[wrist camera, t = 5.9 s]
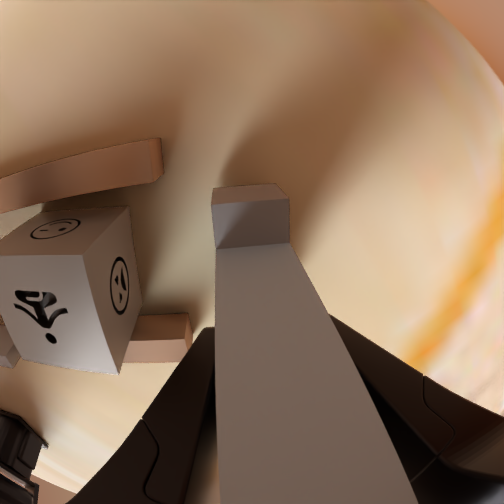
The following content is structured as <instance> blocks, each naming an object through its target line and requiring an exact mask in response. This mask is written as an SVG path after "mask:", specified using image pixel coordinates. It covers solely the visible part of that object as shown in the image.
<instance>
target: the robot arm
mask: <svg viewBox="0 0 504 504" xmlns="http://www.w3.org/2000/svg"><path fill="white" fill-rule="evenodd" d="M329 316H330V318H331V320H332V322H333V324H334V325H335V327H336V329H337V331H338V333H339V335H340V337H341V339H342V341H343V343H344V345H345V347H346V349H347V351H348V353H349V355H350V357H351V358H352V360H353V362H354V364H355V366H356V368H357V370H358V372H359V374H360V376H361V378H362V381H363V383H364V385H365V387H366V389H367V391H368V393H369V395H370V397H371V399H372V401H373V403H374V405H375V407H376V409H377V411H378V414H379V416H380V418H381V420H382V422H383V424H384V426H385V428H386V431H387V433H388V435H389V437H390V439H391V442H392V444H393V446H394V448H395V450H396V453H397V455H398V457H399V459H400V462H401V464H402V466H403V468H404V471H405V473H406V475H407V478H408V480H409V482H410V485H411V487H412V489H413V492H414V494H415V496H416V499H417V501H418V504H504V417H503V416H501V415H498V414H496V413H494V412H492V411H490V410H488V409H486V408H484V407H481V406H479V405H477V404H475V403H473V402H471V401H469V400H467V399H465V398H463V397H461V396H459V395H457V394H455V393H453V392H452V391H450V390H448V389H446V388H445V387H443V386H441V385H440V384H438V383H436V382H435V381H433V380H432V379H430V378H428V377H427V376H423V374H422V373H420V372H419V371H417V370H416V369H414V368H413V367H411V366H409V365H408V364H406V363H405V362H403V361H402V360H400V359H399V358H397V357H395V356H394V355H392V354H391V353H389V352H388V351H386V350H385V349H383V348H381V347H380V346H378V345H377V344H375V343H374V342H372V341H371V340H369V339H367V338H366V337H364V336H363V335H361V334H360V333H358V332H357V331H355V330H354V329H352V328H350V327H349V326H347V325H346V324H344V323H343V322H341V321H340V320H338V319H337V318H335V317H334V316H332V315H330V314H329ZM142 419H143V420H142ZM142 419H140V420H139V422H138V423H137V425H136V426H135V427H134V429H133V430H132V432H131V433H130V434H129V436H128V437H127V438H126V440H125V441H124V442H123V444H122V445H121V446H120V447H119V449H118V450H117V451H116V452H115V453H114V454H113V456H112V457H111V458H110V459H109V460H108V461H107V462H106V464H105V465H104V466H103V467H102V468H101V469H100V470H99V471H98V472H97V473H96V474H95V475H94V476H93V477H92V479H91V480H90V481H89V482H88V483H87V484H86V485H85V486H84V487H83V488H82V489H81V490H80V491H79V492H78V493H77V494H76V495H75V496H74V497H73V498H72V499H71V500H70V501H68V502H67V503H65V504H221V502H220V486H219V469H218V449H217V423H216V387H215V327H206V328H204V329H203V330H202V331H201V332H200V334H199V335H198V337H197V338H196V340H195V341H194V343H193V344H192V345H191V347H190V348H189V350H188V351H187V353H186V354H185V356H184V357H183V358H182V360H181V361H180V363H179V364H178V366H177V367H176V369H175V370H174V371H173V373H172V374H171V376H170V377H169V379H168V380H167V382H166V383H165V384H164V386H163V387H162V389H161V390H160V392H159V393H158V395H157V396H156V397H155V399H154V400H153V402H152V403H151V405H150V406H149V408H148V409H147V410H146V412H145V413H144V415H143V416H142ZM41 448H44V449H48V445H47V444H46V443H45V442H44V441H43V440H42V439H40V438H39V437H38V436H37V434H36V433H35V432H34V431H33V430H32V429H31V428H30V427H29V426H28V425H27V424H26V423H25V422H24V421H23V420H22V419H21V418H20V417H18V416H16V415H13V414H10V413H6V412H4V411H1V410H0V471H1V472H2V473H4V474H5V475H7V476H8V477H10V478H12V479H13V480H15V481H16V482H18V483H20V484H21V485H23V486H25V488H23V487H21V486H20V485H18V484H16V483H15V482H13V481H11V480H10V479H8V478H6V477H5V476H3V475H2V474H0V504H37V501H38V492H39V485H38V484H36V483H33V482H32V481H30V476H31V472H32V470H34V469H35V466H36V463H37V459H38V456H39V453H40V450H41Z"/></svg>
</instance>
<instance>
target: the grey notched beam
mask: <svg viewBox="0 0 504 504" xmlns="http://www.w3.org/2000/svg"><path fill="white" fill-rule="evenodd" d="M211 209H212V219H213V228H214V237H215V246H216V268H215V387H216V423H217V449H218V469H219V486H220V502H221V504H418V501H417V499H416V496H415V494H414V492H413V489H412V487H411V485H410V482H409V480H408V478H407V475H406V473H405V471H404V468H403V466H402V464H401V462H400V459H399V457H398V455H397V453H396V450H395V448H394V446H393V444H392V442H391V439H390V437H389V435H388V433H387V431H386V428H385V426H384V424H383V422H382V420H381V418H380V416H379V414H378V411H377V409H376V407H375V405H374V403H373V401H372V399H371V397H370V395H369V393H368V391H367V389H366V387H365V385H364V383H363V381H362V378H361V376H360V374H359V372H358V370H357V368H356V366H355V364H354V362H353V360H352V358H351V357H350V355H349V353H348V351H347V349H346V347H345V345H344V343H343V341H342V339H341V337H340V335H339V333H338V331H337V329H336V327H335V325H334V324H333V322H332V320H331V318H330V316H329V314H328V312H327V310H326V308H325V306H324V305H323V303H322V301H321V299H320V297H319V295H318V293H317V292H316V290H315V288H314V286H313V284H312V282H311V280H310V279H309V277H308V275H307V273H306V271H305V270H304V268H303V266H302V264H301V262H300V260H299V259H298V257H297V255H296V253H295V251H294V250H293V248H292V246H291V244H290V225H289V198H288V197H287V196H286V195H285V193H284V192H283V191H282V190H281V189H280V188H279V187H278V186H277V185H276V184H260V185H246V186H234V187H222V188H213V193H212V201H211Z"/></svg>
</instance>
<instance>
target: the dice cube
mask: <svg viewBox="0 0 504 504" xmlns="http://www.w3.org/2000/svg"><path fill="white" fill-rule="evenodd" d="M142 304H143V299H142V294H141V288H140V283H139V277H138V271H137V264H136V258H135V251H134V244H133V236H132V227H131V219H130V209H129V206H120V207H102V208H87V209H73V210H61V211H49V212H41V213H39V214H37V215H36V216H34V217H33V218H31V219H30V220H28V221H27V222H25V223H24V224H22V225H21V226H19V227H18V228H16V229H15V230H13V231H12V232H11V233H9V234H8V235H6V236H5V237H4V238H2V239H1V240H0V314H1V317H2V319H3V321H4V323H5V326H6V328H7V330H8V332H9V334H10V336H11V338H12V340H13V342H14V344H15V346H16V348H17V350H18V352H19V354H20V355H21V357H22V359H23V360H27V361H31V362H36V363H41V364H46V365H51V366H57V367H62V368H68V369H75V370H82V371H89V372H96V373H105V374H114V375H119V373H120V369H121V366H122V363H123V360H124V357H125V354H126V350H127V347H128V344H129V341H130V338H131V335H132V332H133V329H134V327H135V324H136V321H137V318H138V315H139V312H140V310H141V307H142Z"/></svg>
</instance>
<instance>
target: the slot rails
mask: <svg viewBox="0 0 504 504" xmlns="http://www.w3.org/2000/svg"><path fill="white" fill-rule="evenodd" d="M162 174H164V168H163V159H162V150H161V140H160V138H155V139H149V140H143V141H137V142H132V143H127V144H121V145H116V146H112V147H107V148H102V149H98V150H94V151H89V152H85V153H81V154H77V155H73V156H70V157H66V158H62V159H59V160H55V161H52V162H48V163H45V164H42V165H38V166H35V167H32V168H29V169H26V170H23V171H20V172H17V173H14V174H12V175H9V176H6V177H3V178H1V179H0V214H1V213H5V212H8V211H12V210H16V209H20V208H23V207H27V206H31V205H35V204H40V203H44V202H48V201H53V200H57V199H62V198H66V197H71V196H76V195H81V194H86V193H91V192H97V191H102V190H108V189H114V188H120V187H126V186H132V185H138V184H145V183H152V182H154V181H155V180H157V179H158V178H159V177H160V176H161V175H162ZM192 340H193V333H192V329H191V324H190V320H189V315H188V313H181V314H165V315H146V316H138V318H137V321H136V324H135V327H134V329H133V332H132V335H131V338H130V341H129V344H128V347H127V350H126V354H125V357H124V360H123V363H165V362H180V361H181V360H182V358H183V357H184V356H185V354H186V353H187V351H188V350H189V348H190V347H191V345H192Z"/></svg>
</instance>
